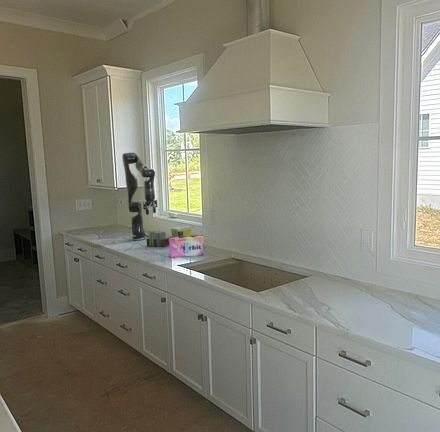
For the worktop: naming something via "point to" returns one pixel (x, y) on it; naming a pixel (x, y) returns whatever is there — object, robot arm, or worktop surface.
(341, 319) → the worktop surface
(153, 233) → the green books
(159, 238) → the grey books
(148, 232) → the green book
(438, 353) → the worktop surface
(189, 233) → the tea box
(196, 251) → the gum box
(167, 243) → the book rack
